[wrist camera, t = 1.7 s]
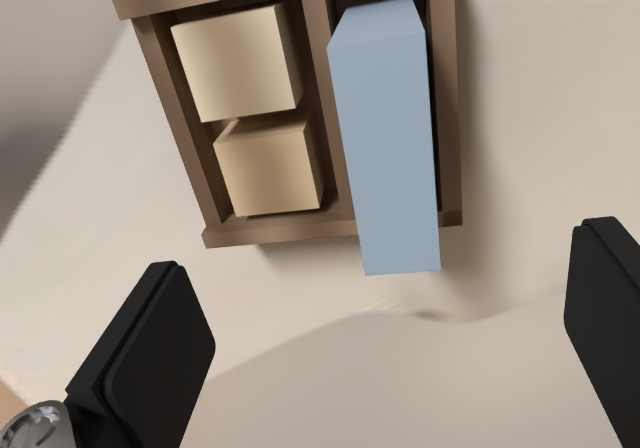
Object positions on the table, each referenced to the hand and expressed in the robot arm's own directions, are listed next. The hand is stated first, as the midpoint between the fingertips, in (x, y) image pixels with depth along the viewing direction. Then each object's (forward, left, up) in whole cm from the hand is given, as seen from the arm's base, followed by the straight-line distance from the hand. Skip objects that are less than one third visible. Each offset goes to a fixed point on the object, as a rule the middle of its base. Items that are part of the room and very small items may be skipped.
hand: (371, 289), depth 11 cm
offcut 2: (+6, +3, -17) cm, 19 cm away
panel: (-1, 0, -17) cm, 17 cm away
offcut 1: (+6, -3, -17) cm, 19 cm away
